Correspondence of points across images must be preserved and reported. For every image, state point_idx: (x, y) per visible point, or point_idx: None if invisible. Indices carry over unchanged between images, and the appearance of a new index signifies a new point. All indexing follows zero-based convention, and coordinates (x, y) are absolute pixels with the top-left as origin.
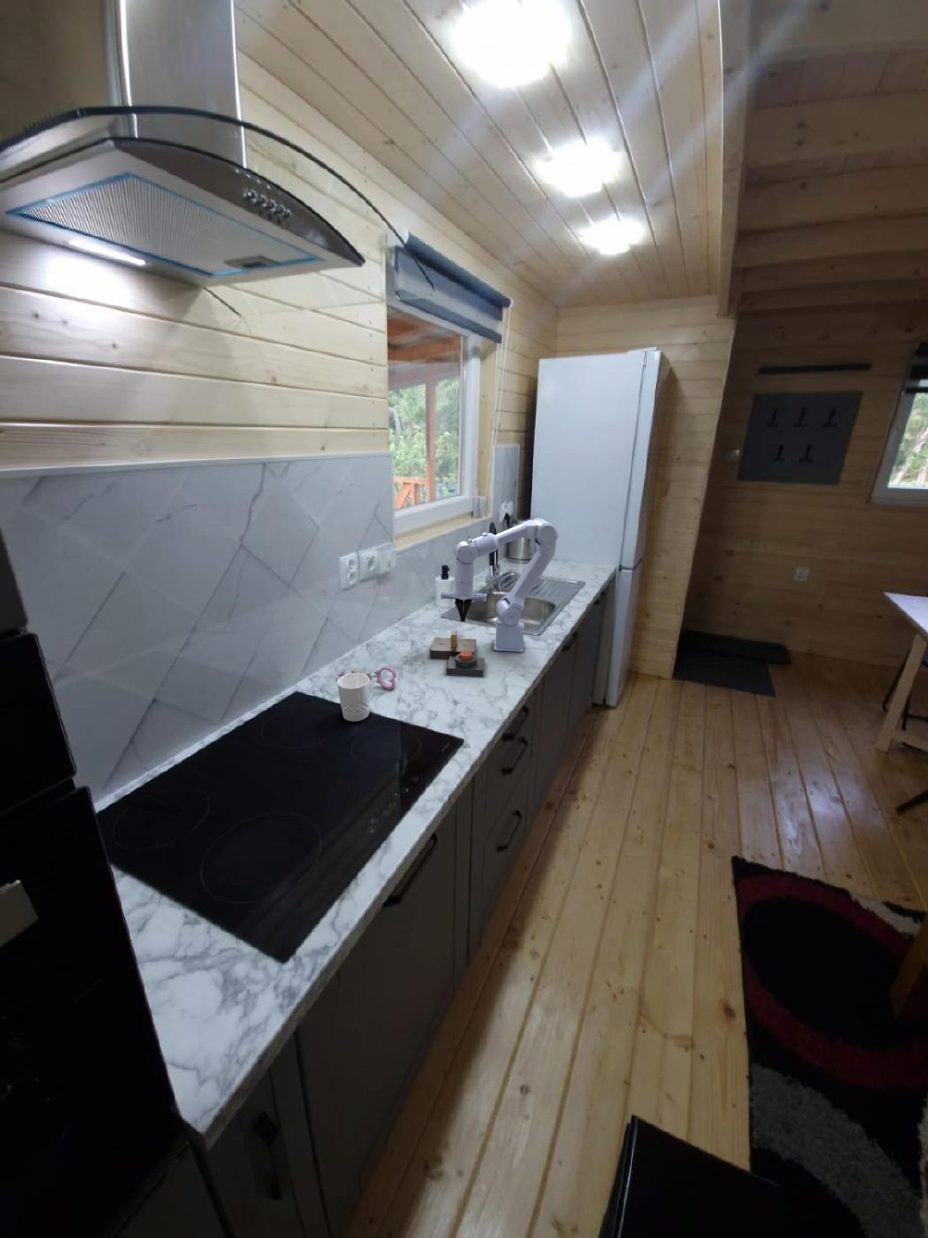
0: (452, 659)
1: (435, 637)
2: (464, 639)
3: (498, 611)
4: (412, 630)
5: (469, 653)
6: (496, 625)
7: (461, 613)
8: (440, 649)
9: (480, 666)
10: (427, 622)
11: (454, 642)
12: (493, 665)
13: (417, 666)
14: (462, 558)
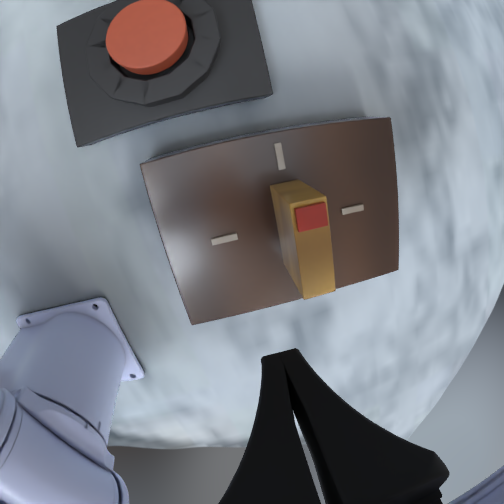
0: (244, 60)
1: (395, 269)
2: (251, 303)
3: (75, 481)
4: (451, 327)
5: (123, 41)
6: (92, 408)
7: (312, 403)
8: (344, 136)
9: (73, 49)
10: (411, 389)
11: (283, 190)
12: (53, 155)
13: (388, 38)
14: None
